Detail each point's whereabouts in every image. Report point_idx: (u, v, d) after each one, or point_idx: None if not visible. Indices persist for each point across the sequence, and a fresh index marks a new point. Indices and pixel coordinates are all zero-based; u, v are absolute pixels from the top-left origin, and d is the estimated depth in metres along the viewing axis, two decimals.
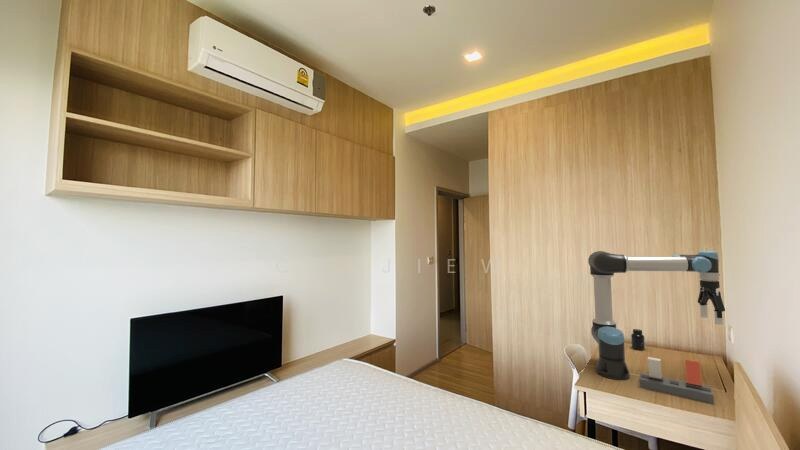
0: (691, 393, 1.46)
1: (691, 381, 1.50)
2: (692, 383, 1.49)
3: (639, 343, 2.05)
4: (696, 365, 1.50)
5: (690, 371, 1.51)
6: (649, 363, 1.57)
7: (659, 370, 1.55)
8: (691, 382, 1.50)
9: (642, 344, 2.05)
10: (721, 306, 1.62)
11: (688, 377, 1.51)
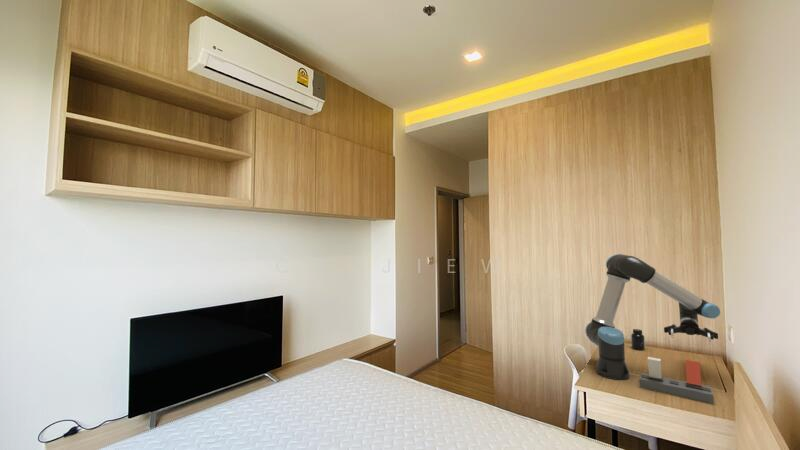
0: (691, 393, 1.46)
1: (691, 381, 1.50)
2: (692, 383, 1.49)
3: (639, 343, 2.05)
4: (696, 365, 1.50)
5: (690, 371, 1.51)
6: (649, 363, 1.57)
7: (659, 370, 1.55)
8: (691, 382, 1.50)
9: (642, 344, 2.05)
10: None
11: (688, 377, 1.51)
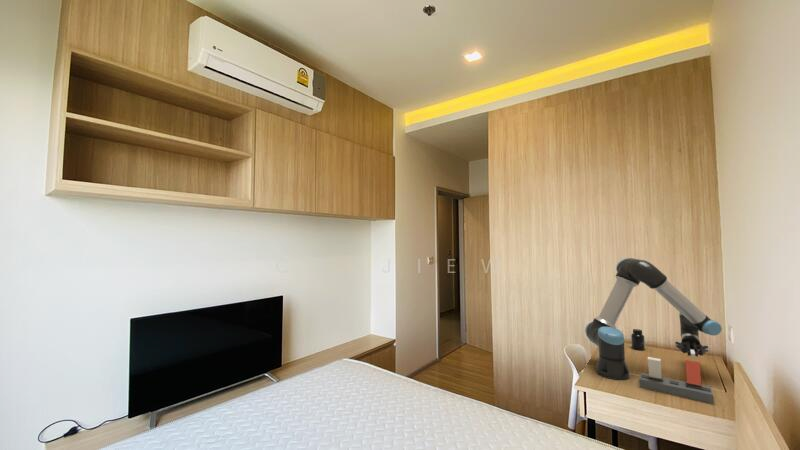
0: (691, 393, 1.46)
1: (691, 381, 1.50)
2: (692, 383, 1.49)
3: (639, 343, 2.05)
4: (696, 365, 1.50)
5: (690, 371, 1.51)
6: (649, 363, 1.57)
7: (659, 370, 1.55)
8: (691, 382, 1.50)
9: (642, 344, 2.05)
10: (703, 352, 1.60)
11: (688, 377, 1.51)
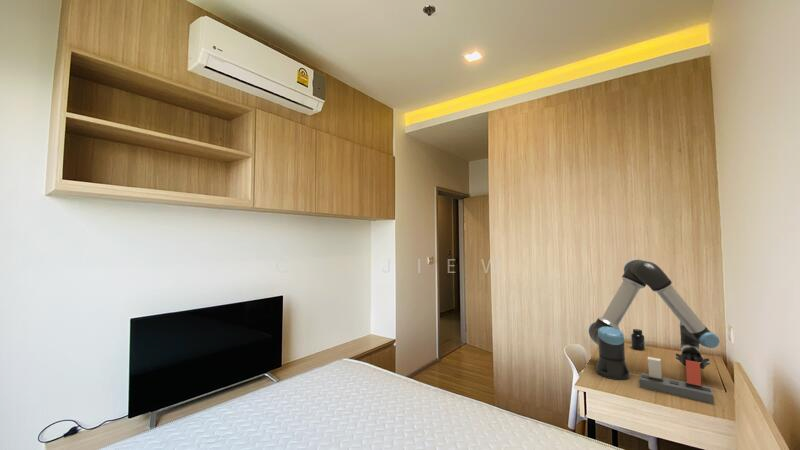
0: (691, 393, 1.46)
1: (691, 381, 1.50)
2: (692, 383, 1.49)
3: (639, 343, 2.05)
4: (696, 365, 1.50)
5: (690, 371, 1.50)
6: (649, 363, 1.57)
7: (659, 370, 1.55)
8: (691, 382, 1.49)
9: (642, 344, 2.05)
10: (704, 365, 1.56)
11: (688, 377, 1.50)
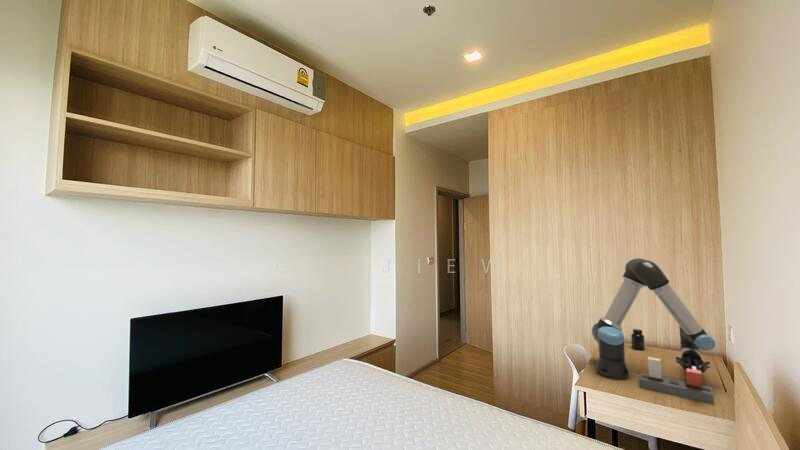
0: (691, 393, 1.46)
1: (691, 384, 1.49)
2: (692, 385, 1.49)
3: (639, 343, 2.05)
4: (697, 375, 1.44)
5: (691, 378, 1.47)
6: (649, 363, 1.57)
7: (659, 370, 1.55)
8: (691, 384, 1.49)
9: (642, 344, 2.05)
10: (705, 369, 1.52)
11: (688, 381, 1.49)
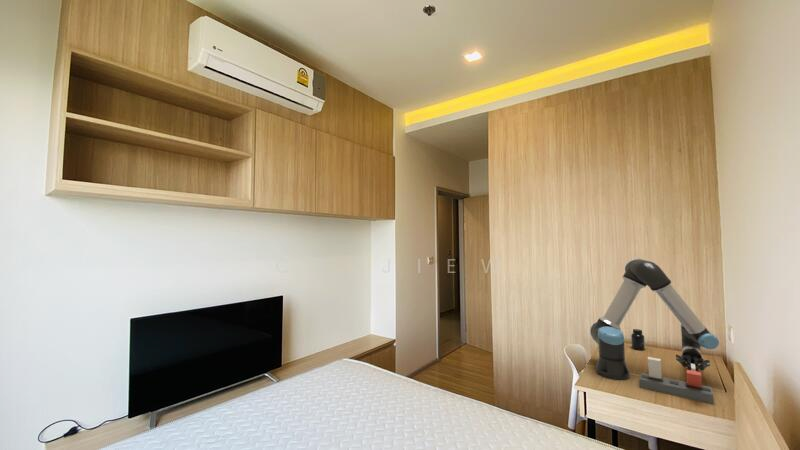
0: (691, 393, 1.46)
1: (691, 384, 1.49)
2: (692, 385, 1.49)
3: (639, 343, 2.05)
4: (697, 376, 1.44)
5: (691, 379, 1.47)
6: (649, 363, 1.57)
7: (659, 370, 1.55)
8: (691, 385, 1.49)
9: (642, 344, 2.05)
10: (704, 367, 1.54)
11: (688, 382, 1.49)
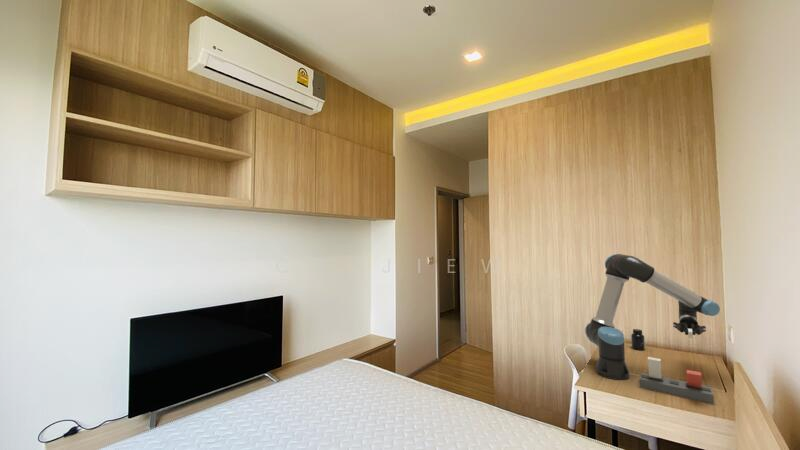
0: (691, 393, 1.46)
1: (691, 384, 1.49)
2: (692, 385, 1.49)
3: (639, 343, 2.05)
4: (697, 376, 1.44)
5: (691, 379, 1.47)
6: (649, 363, 1.57)
7: (659, 370, 1.55)
8: (691, 385, 1.49)
9: (642, 344, 2.05)
10: (700, 331, 1.60)
11: (688, 382, 1.49)
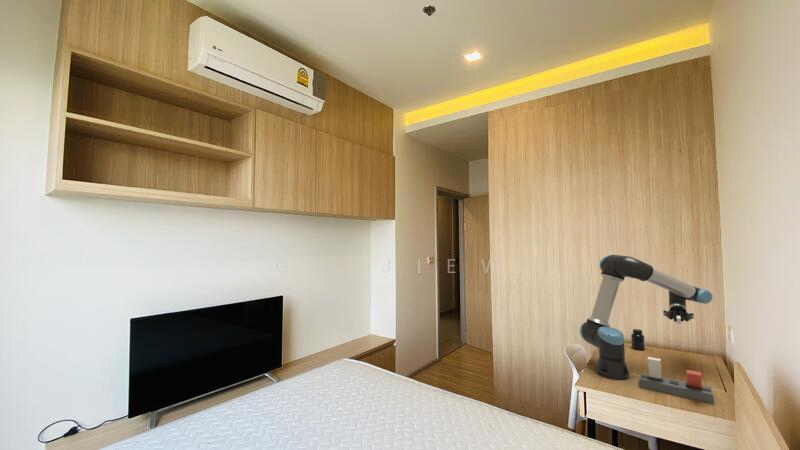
0: (691, 393, 1.46)
1: (691, 384, 1.49)
2: (692, 385, 1.49)
3: (639, 343, 2.05)
4: (697, 376, 1.44)
5: (691, 379, 1.47)
6: (649, 363, 1.57)
7: (659, 370, 1.55)
8: (691, 385, 1.49)
9: (642, 344, 2.05)
10: (688, 318, 1.69)
11: (688, 382, 1.49)
